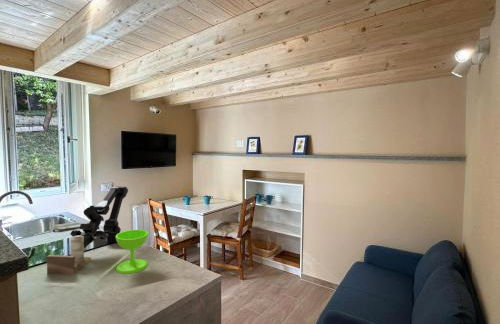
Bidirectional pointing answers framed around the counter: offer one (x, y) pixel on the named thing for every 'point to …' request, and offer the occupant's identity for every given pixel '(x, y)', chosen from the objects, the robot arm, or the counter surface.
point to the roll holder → (62, 265)
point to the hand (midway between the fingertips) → (82, 249)
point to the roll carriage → (78, 249)
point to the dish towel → (66, 226)
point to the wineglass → (131, 250)
